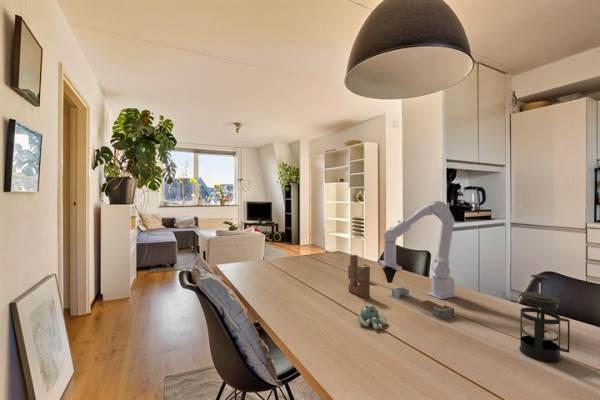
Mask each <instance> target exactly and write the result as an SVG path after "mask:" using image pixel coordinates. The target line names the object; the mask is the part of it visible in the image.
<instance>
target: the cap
mask: <svg viewBox="0 0 600 400" xmlns="http://www.w3.org/2000/svg"><path fill="white" fill-rule="evenodd" d="M391 295H392V296H394V297H396V298H398V299H400V298H401V296H404V297H406V298H410V297H409V295H410V289H408V288H406V287H403V286H402V287H398V288H391Z"/></svg>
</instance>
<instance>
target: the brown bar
mask: <svg viewBox="0 0 600 400" xmlns="http://www.w3.org/2000/svg"><path fill="white" fill-rule="evenodd" d="M422 301H423V302H422V309H425V310H427V311H429V312H431V313H433V307H436V308H438V309H440V310H443V309H447V308H445V307H444V305H441V304H437V303H436V302H433V301H431V300H429V299H428V300H422Z"/></svg>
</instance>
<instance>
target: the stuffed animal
mask: <svg viewBox="0 0 600 400" xmlns="http://www.w3.org/2000/svg"><path fill="white" fill-rule="evenodd" d="M358 315H359V316H358V317H357V321H358V323H359V324H360V325H361V326H363V327H366V328H369V327H370V326H371V325H372V326H373V329H374V330H378V329H379V330H381V329H383V327H384V326H385V325H386V323H387V318H386V316H384V315H382V314H380V313H379V310H378V308H377V307H376V306H374V305H373V304H369V305H368V304H365V305H362V307H361V310H360V312H359V314H358Z"/></svg>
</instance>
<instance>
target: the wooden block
mask: <svg viewBox="0 0 600 400" xmlns="http://www.w3.org/2000/svg"><path fill="white" fill-rule="evenodd" d="M349 257H350V258H349V259H350V260H349V262H350V263H349V265H350V279H349V280H350V281H349V283H350V284H348V292H349V293H351V294H354V295H356V296H358V297H362V298H363V299H365V298H370V295H371V294H370V293H371V289H370V287H371V286H370V283H371V282H370V281H371V277H370V276H371V275H370V274H371V271H370V270H371V269H370V268H371V267H370V265H368V266H367V267H364V266H363V267H364V268H363V269H362V270H361V271H360V272H359V273H358V266H359V262H358V260H359V257H358V254H350V255H349ZM358 280H359V281H358Z"/></svg>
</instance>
